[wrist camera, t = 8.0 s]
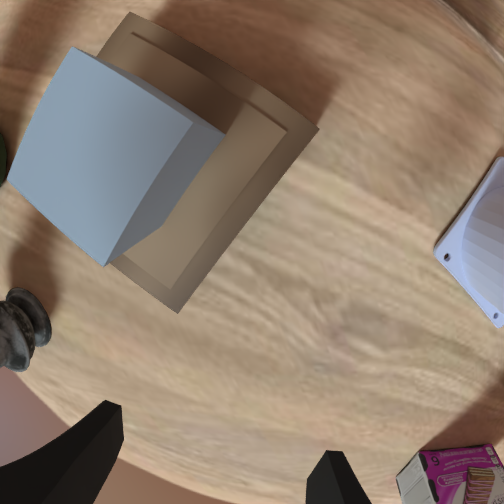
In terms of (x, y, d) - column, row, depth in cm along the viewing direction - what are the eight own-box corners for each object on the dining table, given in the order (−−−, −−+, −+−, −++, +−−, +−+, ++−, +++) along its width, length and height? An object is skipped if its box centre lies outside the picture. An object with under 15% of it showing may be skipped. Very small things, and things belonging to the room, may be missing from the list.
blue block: (225, 134, 13) (193, 122, 8) (161, 226, 14) (103, 267, 9) (139, 77, 12) (72, 46, 7) (84, 166, 14) (6, 179, 8)
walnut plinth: (312, 133, 16) (320, 128, 13) (191, 290, 19) (176, 315, 16) (150, 29, 14) (128, 10, 11) (57, 184, 17) (25, 191, 14)
